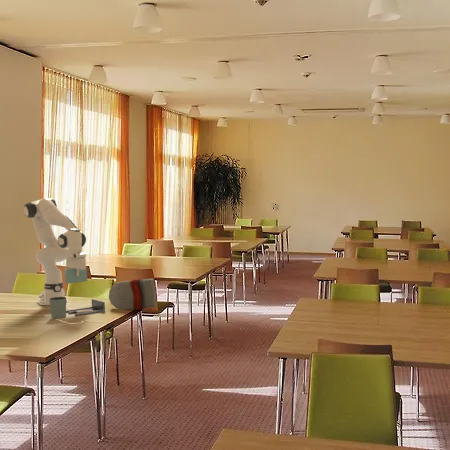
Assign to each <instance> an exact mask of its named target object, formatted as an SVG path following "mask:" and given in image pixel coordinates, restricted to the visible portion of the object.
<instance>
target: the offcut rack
mask: <svg viewBox="0 0 450 450" xmlns="http://www.w3.org/2000/svg"><path fill="white" fill-rule="evenodd" d="M81 310H93V311H90V312H84V313H77V314H76V311H81ZM105 312H106V303H105V301H102V300H99V299H96V298H91V306H88V307H87V306H86V307H82V308H80V307H79V308H74V309H68V310H67V309H66V314H68V315H72V314H74V317H78V316H79V317H80V316H85V315H91V314H92V315H93V314H98V313H105Z"/></svg>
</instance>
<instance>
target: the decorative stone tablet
mask: <svg viewBox="0 0 450 450" xmlns="http://www.w3.org/2000/svg"><path fill="white" fill-rule="evenodd" d="M108 291H109V292H108V299H109V302H110V304H111V305H112V306H113V307H114V308H115V309H118V310H122V309H128V310H136V311H142V310H143V309H147V308H148V309H149V308H155V307H156V306H157V297H156V294H157V293H156V287H155V279H154V278H143V279H142V278H141V279H140V278H137V279H131V280H122V281H119V282H116V283H114V285H112V286H111V287H110V289H109V290H108Z"/></svg>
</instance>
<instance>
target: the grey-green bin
mask: <svg viewBox="0 0 450 450" xmlns="http://www.w3.org/2000/svg"><path fill="white" fill-rule="evenodd" d="M66 300H67V296H65V297H53V298H50V299H49V301H50V305H49V306H50V314H51V316H50V317H51V319H52V320H58V319H60V318H65V317H67V313H66V310H67V302H66Z"/></svg>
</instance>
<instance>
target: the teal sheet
mask: <svg viewBox="0 0 450 450" xmlns="http://www.w3.org/2000/svg"><path fill="white" fill-rule="evenodd" d="M87 271H88V269H87V266H86V268H85V270H80V272H79V276H76V274H75V273H76V269H74V268H65V269H64V283H65V284H76V283H83V282H87V281H88V272H87Z"/></svg>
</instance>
